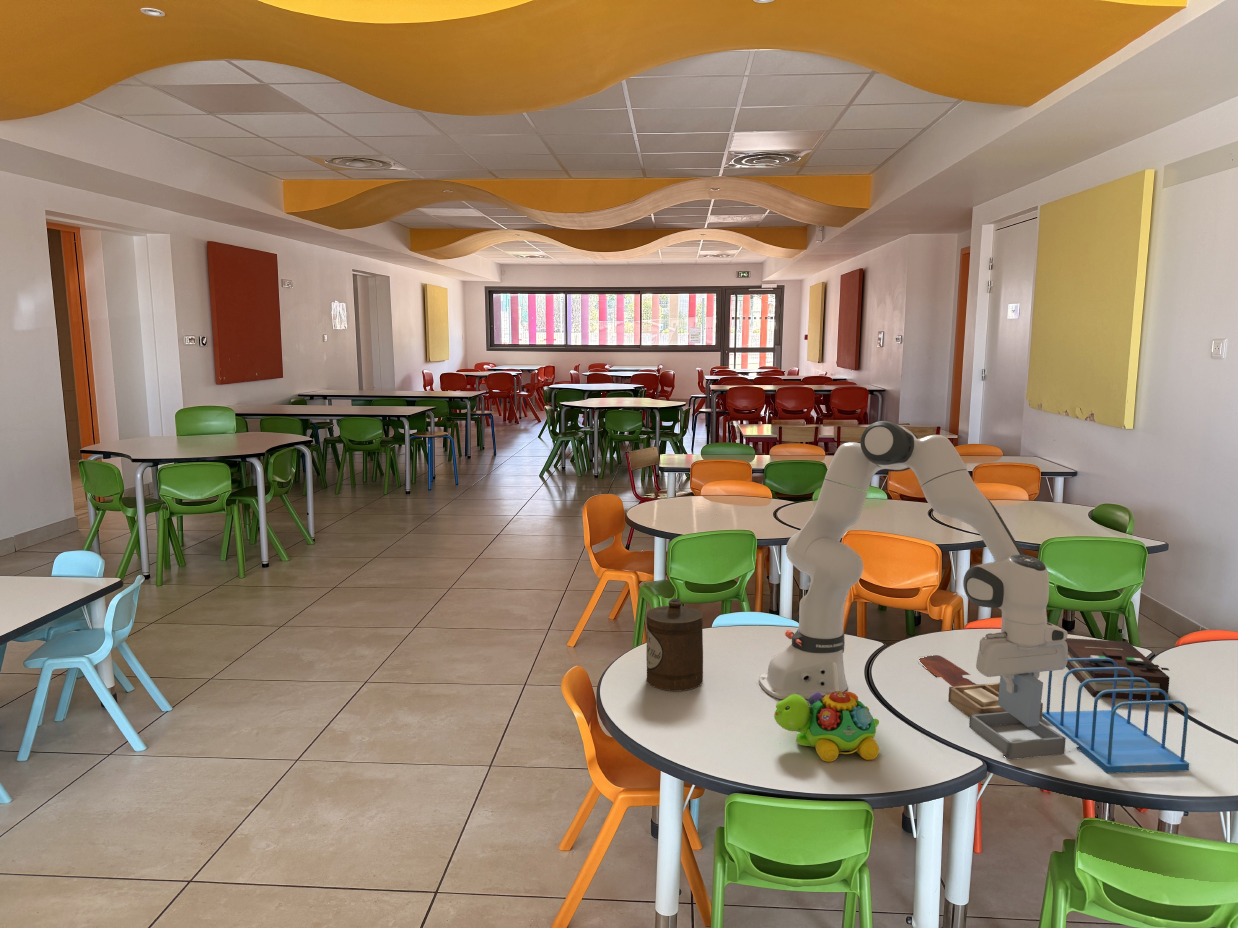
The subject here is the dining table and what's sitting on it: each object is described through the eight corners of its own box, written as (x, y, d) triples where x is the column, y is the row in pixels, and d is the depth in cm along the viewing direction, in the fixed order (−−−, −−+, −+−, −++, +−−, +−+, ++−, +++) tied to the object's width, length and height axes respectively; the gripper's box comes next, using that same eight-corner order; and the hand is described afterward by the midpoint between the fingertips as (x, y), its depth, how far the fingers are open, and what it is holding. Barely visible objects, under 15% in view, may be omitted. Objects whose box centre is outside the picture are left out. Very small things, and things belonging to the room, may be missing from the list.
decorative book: (1129, 635, 228) (1180, 678, 199) (1126, 662, 229) (1177, 707, 200) (1053, 631, 232) (1092, 672, 203) (1051, 657, 233) (1090, 701, 204)
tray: (1008, 759, 175) (1009, 743, 174) (969, 729, 188) (969, 714, 188) (1064, 753, 177) (1065, 737, 177) (1021, 724, 191) (1022, 709, 190)
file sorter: (1040, 719, 194) (1045, 656, 192) (1113, 717, 195) (1118, 655, 192) (1107, 774, 169) (1113, 702, 167) (1189, 772, 170) (1196, 701, 168)
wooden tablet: (996, 696, 208) (996, 689, 208) (958, 698, 207) (959, 691, 207) (943, 656, 234) (943, 651, 234) (909, 658, 233) (909, 652, 233)
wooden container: (646, 668, 225) (646, 590, 222) (701, 669, 224) (701, 591, 221) (646, 691, 210) (646, 608, 207) (704, 692, 210) (705, 608, 207)
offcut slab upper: (983, 710, 192) (984, 702, 192) (963, 698, 199) (963, 690, 198) (1001, 707, 193) (1001, 699, 193) (980, 695, 200) (980, 687, 200)
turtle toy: (764, 729, 189) (765, 680, 188) (864, 725, 191) (866, 677, 189) (784, 766, 173) (785, 713, 171) (892, 762, 174) (895, 709, 173)
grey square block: (1027, 726, 177) (1032, 683, 176) (997, 704, 187) (1001, 663, 185) (1038, 725, 178) (1043, 682, 176) (1007, 703, 188) (1011, 662, 186)
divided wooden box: (979, 726, 190) (980, 708, 189) (948, 703, 202) (949, 686, 201) (1041, 720, 193) (1042, 703, 192) (1007, 698, 205) (1008, 681, 204)
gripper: (989, 639, 175) (986, 701, 177) (1074, 631, 178) (1070, 692, 180) (971, 629, 181) (968, 689, 183) (1053, 622, 185) (1050, 681, 187)
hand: (1019, 690), depth 182 cm, fingers closed on grey square block, 3 cm apart
